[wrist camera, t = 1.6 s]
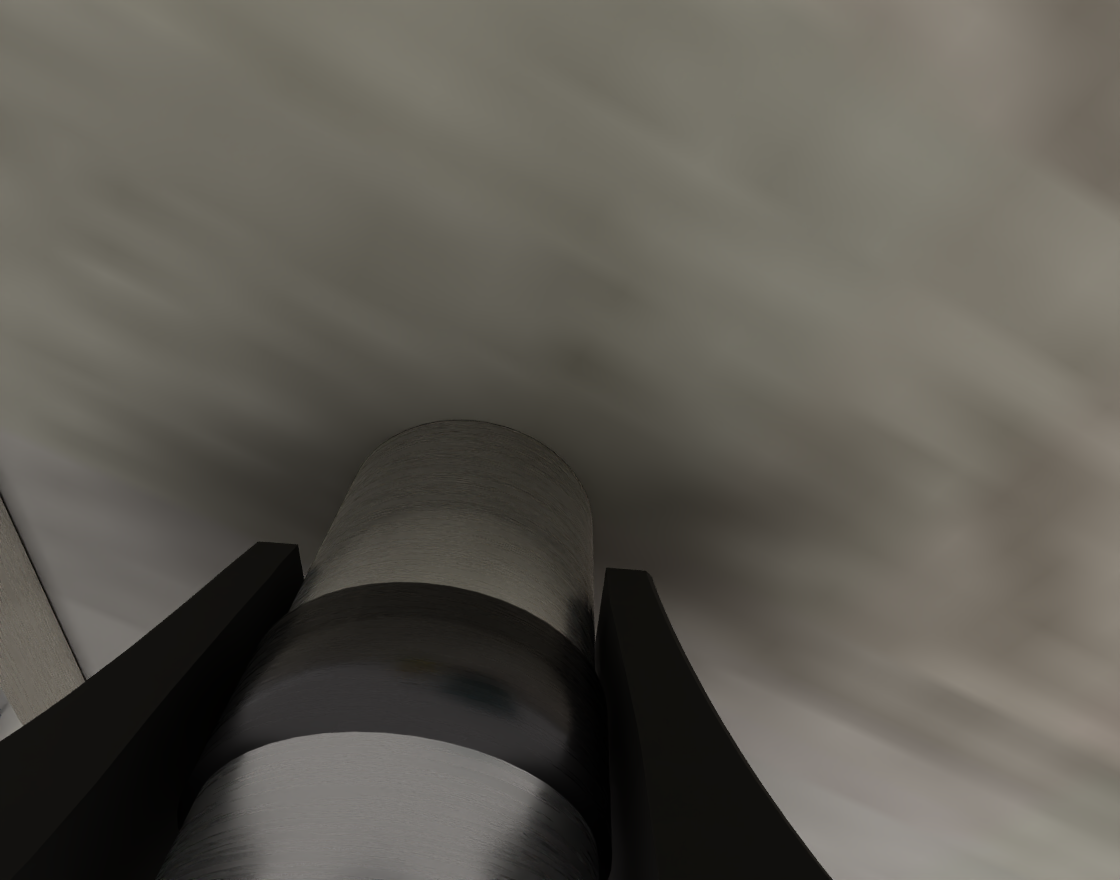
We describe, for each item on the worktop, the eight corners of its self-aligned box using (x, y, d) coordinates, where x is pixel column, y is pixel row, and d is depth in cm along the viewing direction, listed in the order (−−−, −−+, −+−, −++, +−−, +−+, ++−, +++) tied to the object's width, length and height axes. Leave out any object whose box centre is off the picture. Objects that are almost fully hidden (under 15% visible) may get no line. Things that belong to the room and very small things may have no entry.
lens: (587, 625, 14) (591, 1132, 7) (353, 607, 13) (158, 1103, 7) (615, 424, 11) (655, 936, 5) (327, 401, 11) (-2, 891, 5)
